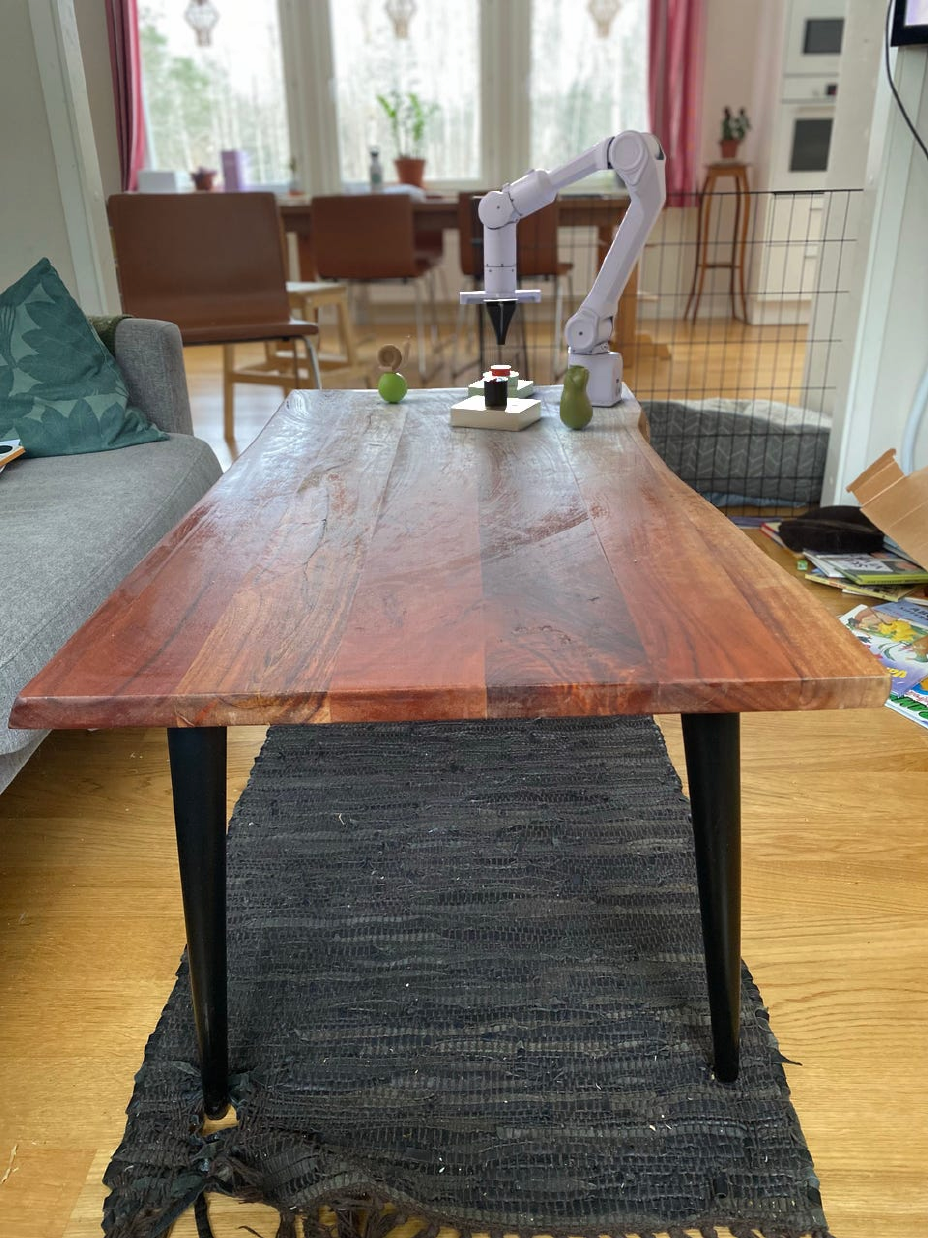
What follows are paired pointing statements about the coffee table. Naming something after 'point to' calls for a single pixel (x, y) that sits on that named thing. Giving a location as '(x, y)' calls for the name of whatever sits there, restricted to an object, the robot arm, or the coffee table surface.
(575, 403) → the pear
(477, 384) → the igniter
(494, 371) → the button
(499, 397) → the stove knob
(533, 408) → the panel
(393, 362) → the snail figurine
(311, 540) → the coffee table surface
